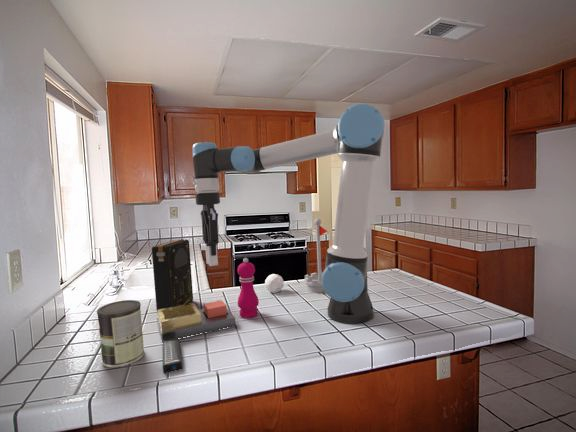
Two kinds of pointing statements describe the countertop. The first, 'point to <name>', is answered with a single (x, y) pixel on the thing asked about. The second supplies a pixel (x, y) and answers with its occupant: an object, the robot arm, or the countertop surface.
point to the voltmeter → (172, 274)
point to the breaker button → (215, 309)
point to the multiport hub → (171, 355)
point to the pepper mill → (247, 290)
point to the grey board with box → (189, 322)
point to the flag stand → (316, 280)
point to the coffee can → (120, 333)
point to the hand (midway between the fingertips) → (212, 264)
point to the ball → (274, 283)
